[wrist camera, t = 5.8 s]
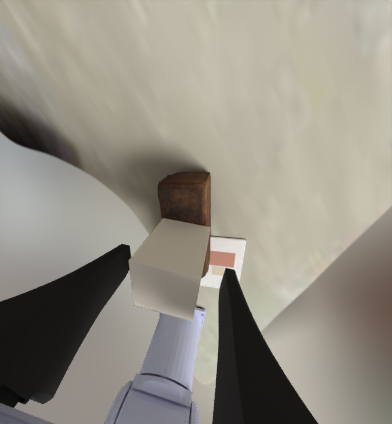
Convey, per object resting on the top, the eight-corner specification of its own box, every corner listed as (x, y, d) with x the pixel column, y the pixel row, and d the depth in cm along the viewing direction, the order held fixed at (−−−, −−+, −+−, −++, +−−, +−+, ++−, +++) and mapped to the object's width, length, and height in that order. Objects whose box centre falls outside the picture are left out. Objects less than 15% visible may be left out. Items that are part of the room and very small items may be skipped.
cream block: (204, 263, 14) (192, 321, 10) (162, 254, 14) (134, 305, 10) (210, 227, 12) (200, 277, 8) (163, 218, 13) (128, 260, 8)
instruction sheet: (237, 289, 22) (238, 291, 22) (196, 283, 23) (196, 285, 23) (246, 239, 18) (246, 240, 17) (195, 234, 19) (195, 235, 19)
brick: (173, 171, 16) (153, 183, 11) (211, 171, 15) (205, 184, 11) (181, 252, 20) (169, 281, 16) (211, 255, 19) (206, 287, 15)
